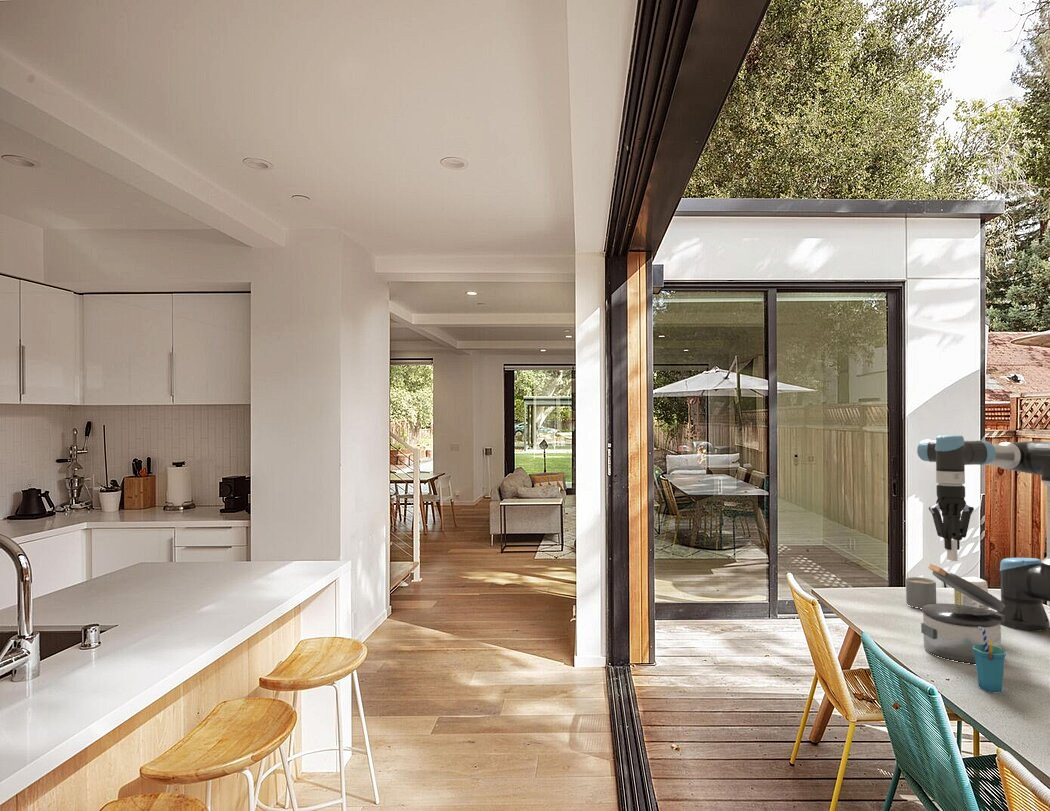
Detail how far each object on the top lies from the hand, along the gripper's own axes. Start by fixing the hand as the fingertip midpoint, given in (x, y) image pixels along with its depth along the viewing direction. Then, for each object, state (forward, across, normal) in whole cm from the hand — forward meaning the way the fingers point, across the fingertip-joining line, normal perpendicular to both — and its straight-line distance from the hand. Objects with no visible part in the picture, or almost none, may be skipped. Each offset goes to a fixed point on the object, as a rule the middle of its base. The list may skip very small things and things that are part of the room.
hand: (952, 560), depth 201 cm
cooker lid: (+9, +3, 0) cm, 10 cm away
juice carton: (+29, +16, +16) cm, 37 cm away
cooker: (+29, +2, 0) cm, 29 cm away
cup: (+29, -7, -25) cm, 39 cm away
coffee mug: (+29, +20, +51) cm, 62 cm away
